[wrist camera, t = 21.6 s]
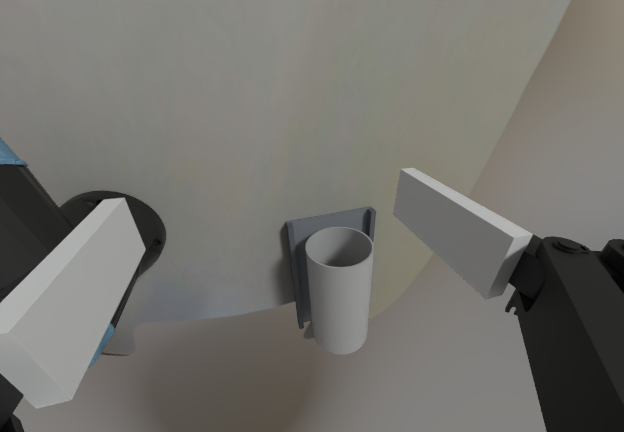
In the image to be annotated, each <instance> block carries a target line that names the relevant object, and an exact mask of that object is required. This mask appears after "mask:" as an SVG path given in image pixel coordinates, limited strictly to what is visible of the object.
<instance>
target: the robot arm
mask: <svg viewBox="0 0 624 432" xmlns="http://www.w3.org/2000/svg"><path fill="white" fill-rule="evenodd" d="M27 166H28V164H27V163H26V162H25V161H23V160H21V159H19V158H18V157H17V156H16V154H15V153H14V152H13V151H12V150H11V149H10V148H9V147H8V145H7V144H6V143H5V142H4V141H3V140H2V139H1V137H0V432H24V430H23V427H22V424H21V421H20V420H19V419H18V418H17V417H16V416H15V415H13V411H14V410H15V408H16V407H17V405H18V404H19V402H20V401H21V399H22V398H23V397H24V398H25V399H27V400H28V402H30V403H31V404H32V405H33V406H34V407H35V408H41V407H45V406H49V405H53V404H58V403H62V402H66V401H69V400H72V398H73V396H74V394H75V392H76V390H77V388H78V386H79V384H80V382H81V380H82V378H83V376H84V374H85V372H86V370H87V369H88V368H89V367H91V366H92V365H93V364H94V363H95V362H96V360H97V359H98V358H99V356H100V355H101V353H102V351H103V349H104V347H105V345H106V344H107V342H108V340H110V338H111V337H112V336H113V334H114V331H115V328H116V325H117V323H118V321H119V318H120V316H121V314H122V311H123V309H124V307H125V305H126V302H127V300H128V298H129V295H130V293H131V291H132V288H133V286H134V284H135V281H136V279H137V278H138V277H139V276H140V275H141V274H142V273H143V272H144V271H146V270H147V269H148V268H149V267H150V266H151V265H153V264H154V263H155V262H156V260H157V259H158V258H159V256H160V255H161V252H162V250H163V248H164V245H165V241H166V231H165V227H164V224H163V222H162V220H161V219H160V217H159V216H158V215H157V213H156V212H155V211H154V210H153V209H152V208H150V207H149V206H148V205H147V204H145V203H143V202H142V201H140V200H138V199H136V198H134V197H132V196H129V195H126V194H122V193H118V192H112V191H92V192H87V193H83V194H80V195H77V196H75V197H73V198H71V199H70V200H68V201H67V202H66V203H64V204H63V205H62V206H61V207H58V206H57V205H56V204H55V202H54V201H53V200H52V198H51V197H50V196H49V195H48V193H47V192H46V191H45V189H44V188H43V187H42V186H41V184H40V183H39V182H38V180H37V179H36V178H35V177H34V175H33V174H32V173H31V171H30V170H29V169H28V168H27ZM393 215H395V216H396V217H397V218H398V219H399V220H400V221H401V222H402V223H403V224H404V225H405V226H407V227H408V228H409V229H410V230H411V231H412V232H413V233H414V234H415V235H416V236H417V237H418V238H420V239H421V240H422V241H423V242H424V243H425V244H426V245H427V246H428V247H429V248H430V249H431V250H433V251H434V252H435V253H436V254H437V255H438V256H439V257H440V258H441V259H442V260H443V261H445V262H446V263H447V264H448V265H449V266H450V267H451V268H452V269H453V270H454V271H455V272H456V273H458V274H459V275H460V276H461V277H462V278H463V279H464V280H465V281H466V282H467V283H468V284H469V285H471V286H472V287H473V288H474V289H475V290H476V291H477V292H478V293H479V294H480V295H481V296H482V297H484V298H485V299H488V298H492V297H496V296H500V295H502V294H503V292H504V290H505V288H506V286H507V284H508V283H510V284H511V285H513V286H514V287H515V288H516V289H515V291H514V293H513V295H512V297H511V299H510V301H509V302H508V304H507V306H506V309H505V312H509V311H510V309H511V308H512V307H516V310H515V312H514V314H515V315H517V316H518V320H519V323H520V328H521V332H522V335H523V339H524V343H525V347H526V351H527V355H528V359H529V363H530V367H531V371H532V375H533V379H534V382H535V387H536V391H537V395H538V399H539V403H540V406H541V411H542V415H543V419H544V423H545V427H546V431H547V432H624V240H622V239H613V240H610V241H608V243H607V244H606V246H605V247H604V249H603V250H602V251H591V250H589V249H588V248H587V247H586V246H583V245H581V244H579V243H576V242H574V241H572V240H569V239H565V238H561V237H545V238H544V239H541V238H539V237H537V236H535V235H533V234H531V233H530V232H528V231H526V230H524V229H523V228H521V227H519V226H517V225H515V224H514V223H512V222H510V221H508V220H506V219H504V218H503V217H501V216H499V215H497V214H496V213H494V212H492V211H490V210H488V209H487V208H485V207H483V206H481V205H479V204H478V203H476V202H474V201H472V200H470V199H469V198H467V197H465V196H463V195H461V194H460V193H458V192H456V191H454V190H452V189H451V188H449V187H447V186H445V185H443V184H442V183H440V182H438V181H436V180H434V179H433V178H431V177H429V176H427V175H425V174H424V173H422V172H420V171H418V170H416V169H415V168H407V169H401V171H400V176H399V182H398V188H397V194H396V199H395V205H394V211H393Z"/></svg>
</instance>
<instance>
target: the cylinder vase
mask: <svg viewBox="0 0 624 432" xmlns="http://www.w3.org/2000/svg"><path fill="white" fill-rule="evenodd" d="M373 254H374V245H373V242H372V240H371V239H370V238H369V237H368V236H367V235H366V234H365V233H363V232H361V231H359V230H356V229H353V228H348V227H330V228H325V229H322V230H320V231H318V232H316V233H314V234H313V235H312V236H310V238H309V239H308V240H307V242H306V259H307V270H308V282H309V293H310V304H311V315H312V327H313V334H314V337H315V340H316V341H317V343H318V344H319V345H320V346H321V347H322V348H323V349H324V350H326V351H328V352H330V353H333V354H337V355H345V354H350V353H352V352H355V351H356V350H357V349H359V348H360V347H361V346H362V345H363V343H364V342H365V339H366V336H367V326H368V315H369V302H370V290H371V278H372V266H373Z"/></svg>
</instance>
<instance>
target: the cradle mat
mask: <svg viewBox="0 0 624 432" xmlns="http://www.w3.org/2000/svg"><path fill="white" fill-rule="evenodd" d="M375 216H376V211H375V210H374V209H373V208H372V207H366V208H360V209H355V210H349V211H343V212H338V213H332V214H327V215H321V216H315V217H310V218H304V219H299V220H293V221H287V222H286V225H287V234H288V242H289V250H290V259H291V267H292V276H293V284H294V293H295V301H296V309H297V317H298V323H299V328H300V329H301V328H304V326H303V322H307V321H311V320H312V315H311V304H310V293H309V282H308V270H307V259H306V242H307V240H308V239H309V238H310V236H312V235H313V234H314V233H316V232H318V231H320V230H322V229H325V228H330V227H348V228H353V229H356V230H359V231H361V232H363V233H365V234H366V235H367V236H368V237H369V238H370V239H371V240H372V242H373V238H374V227H375Z"/></svg>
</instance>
